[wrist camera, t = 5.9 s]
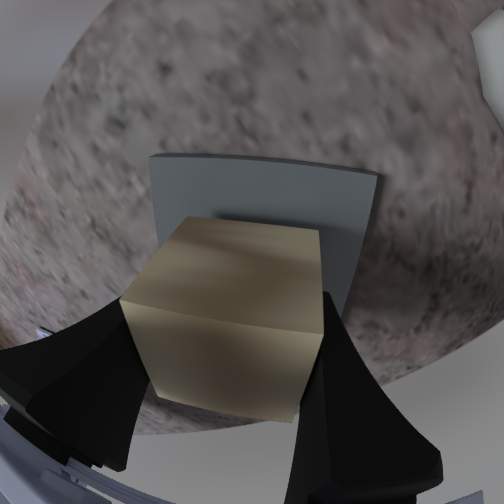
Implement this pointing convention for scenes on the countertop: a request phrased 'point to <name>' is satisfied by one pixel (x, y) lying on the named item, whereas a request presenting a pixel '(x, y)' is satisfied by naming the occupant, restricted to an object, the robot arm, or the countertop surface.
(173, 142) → the countertop surface
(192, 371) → the block
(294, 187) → the coaster
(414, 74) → the countertop surface
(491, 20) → the flask
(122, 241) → the countertop surface
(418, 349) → the countertop surface
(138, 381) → the robot arm
